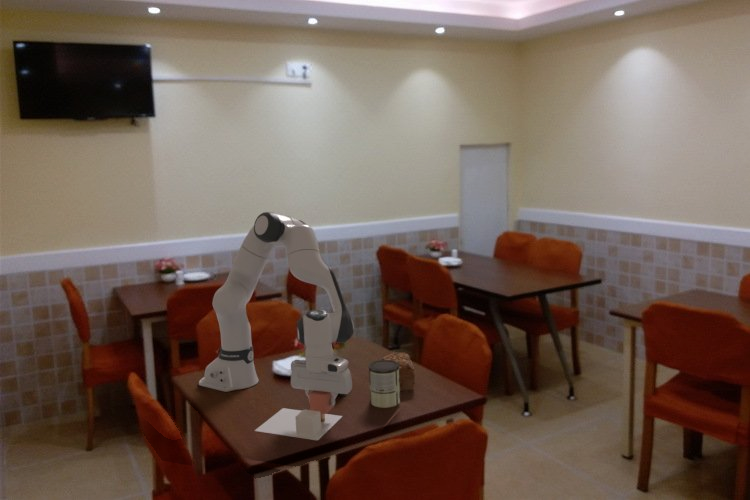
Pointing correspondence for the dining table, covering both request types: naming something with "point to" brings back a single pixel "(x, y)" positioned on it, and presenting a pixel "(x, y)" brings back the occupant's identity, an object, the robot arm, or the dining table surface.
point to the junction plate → (293, 424)
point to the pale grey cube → (308, 423)
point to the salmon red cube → (320, 401)
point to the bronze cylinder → (322, 417)
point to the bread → (403, 370)
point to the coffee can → (384, 383)
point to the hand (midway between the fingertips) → (322, 403)
